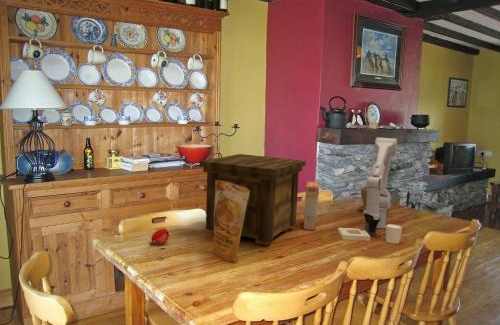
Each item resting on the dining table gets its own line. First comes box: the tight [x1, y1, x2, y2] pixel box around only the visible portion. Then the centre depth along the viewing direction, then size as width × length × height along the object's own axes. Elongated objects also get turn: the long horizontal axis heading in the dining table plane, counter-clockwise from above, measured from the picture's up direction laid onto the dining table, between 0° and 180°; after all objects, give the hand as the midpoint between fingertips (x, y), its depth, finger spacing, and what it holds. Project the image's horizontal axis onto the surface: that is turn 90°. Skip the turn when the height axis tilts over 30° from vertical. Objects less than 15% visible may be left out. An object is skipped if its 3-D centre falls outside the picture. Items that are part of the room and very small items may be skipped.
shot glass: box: [385, 223, 403, 245], centre depth 176 cm, size 7×7×7 cm
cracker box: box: [302, 181, 320, 231], centre depth 194 cm, size 14×6×21 cm, turn 168°
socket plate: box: [337, 227, 371, 242], centre depth 182 cm, size 11×12×3 cm
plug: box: [365, 221, 378, 236], centre depth 186 cm, size 4×4×5 cm
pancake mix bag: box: [212, 180, 250, 264], centre depth 150 cm, size 7×19×28 cm, turn 38°
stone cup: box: [359, 185, 390, 214], centre depth 226 cm, size 15×12×15 cm
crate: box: [199, 153, 307, 246], centre depth 181 cm, size 35×35×33 cm
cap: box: [150, 228, 170, 246], centre depth 163 cm, size 8×6×6 cm
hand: (370, 230), depth 186 cm, fingers closed on plug, 4 cm apart
